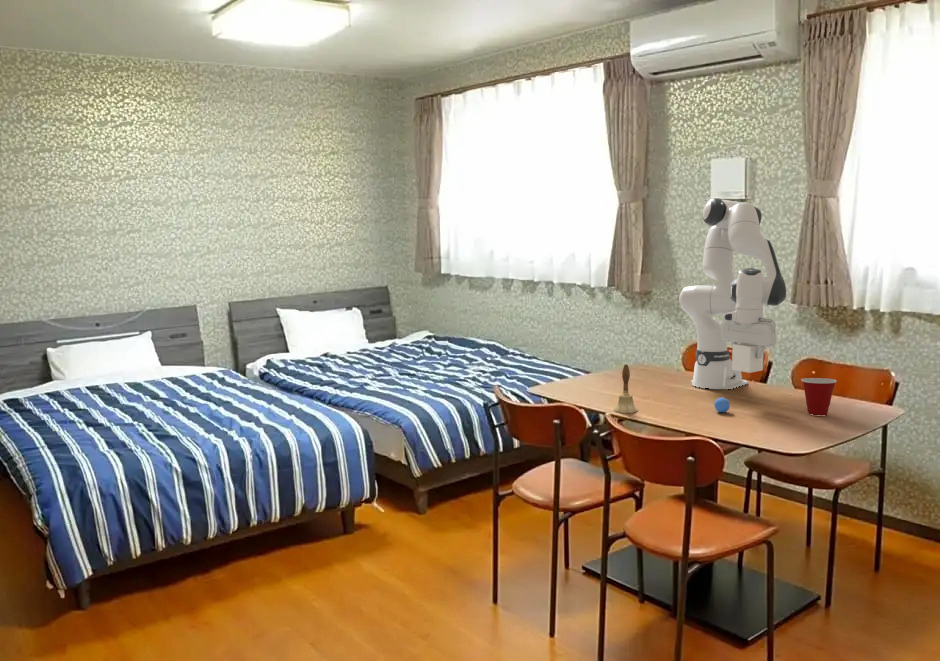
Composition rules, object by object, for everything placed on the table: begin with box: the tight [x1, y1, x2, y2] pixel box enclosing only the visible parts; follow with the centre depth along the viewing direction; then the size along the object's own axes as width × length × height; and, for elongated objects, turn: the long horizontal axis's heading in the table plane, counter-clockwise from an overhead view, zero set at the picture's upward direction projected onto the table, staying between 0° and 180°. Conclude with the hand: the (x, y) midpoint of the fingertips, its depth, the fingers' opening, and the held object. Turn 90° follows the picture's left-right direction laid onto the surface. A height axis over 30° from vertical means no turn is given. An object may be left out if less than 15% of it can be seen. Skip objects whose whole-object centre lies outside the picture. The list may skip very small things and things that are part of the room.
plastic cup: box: [800, 377, 837, 416], centre depth 270 cm, size 11×11×12 cm
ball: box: [714, 397, 731, 414], centre depth 276 cm, size 5×5×5 cm
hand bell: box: [613, 363, 639, 414], centre depth 280 cm, size 8×8×16 cm
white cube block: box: [731, 343, 765, 374], centre depth 281 cm, size 7×7×9 cm
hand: (747, 356), depth 281 cm, fingers closed on white cube block, 7 cm apart
